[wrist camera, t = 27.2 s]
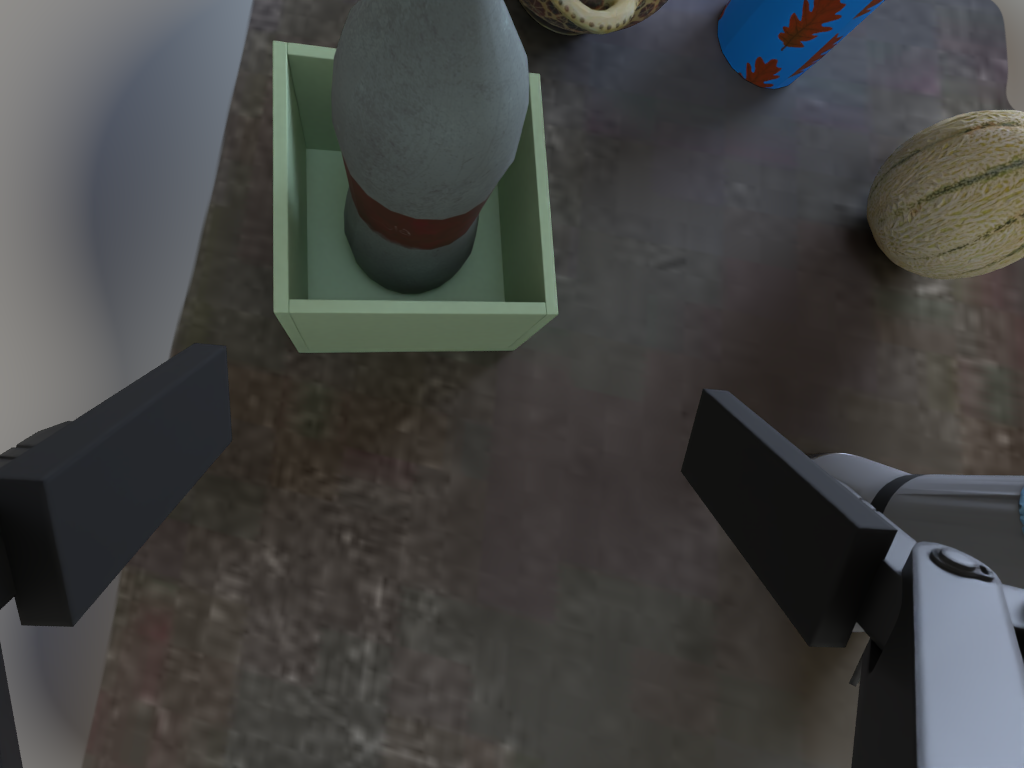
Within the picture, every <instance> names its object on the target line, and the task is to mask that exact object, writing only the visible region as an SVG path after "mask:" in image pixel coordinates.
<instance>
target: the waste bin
mask: <svg viewBox="0 0 1024 768" xmlns="http://www.w3.org/2000/svg"><path fill="white" fill-rule="evenodd" d="M335 52H336V48H328V47H320V46H312V45H304V44H296V43H286V42H280V41H273V312H274V314H275V315H276V317H277V318H278V320H279V322H280V323H281V325H282V326H283V328H284V330H285V331H286V333H287V334H288V336H289V338H290V339H291V341H292V342H293V344H294V346H295V347H296V349H297V350H298V352H299V353H337V352H429V351H514V350H515V349H516V348H518V347H519V346H520V345H521V344H523V343H524V342H525V341H526V340H528V339H529V338H530V337H531V336H532V335H534V334H535V333H536V332H537V331H539V330H540V329H541V328H542V327H543V326H545V325H546V324H547V323H548V322H550V321H551V320H552V319H553V318H554V317H556V316H557V315H558V304H557V291H556V278H555V265H554V252H553V239H552V226H551V213H550V200H549V187H548V174H547V161H546V148H545V135H544V122H543V109H542V96H541V83H540V74H535V73H529V104H528V108H527V112H526V116H525V120H524V124H523V128H522V132H521V136H520V140H519V144H518V147H517V151H516V155H515V159H514V161H513V162H512V164H511V165H510V166H509V168H508V169H507V171H506V172H505V173H504V175H503V176H502V178H501V179H500V180H499V182H498V183H497V185H496V186H495V188H494V190H493V191H492V193H491V195H490V196H489V198H488V200H487V201H486V203H485V205H484V206H483V208H482V209H481V211H480V213H479V221H478V227H477V233H476V237H475V241H474V245H473V248H472V252H471V254H470V256H469V257H468V258H467V260H466V261H465V263H464V264H463V265H462V267H461V268H460V269H459V271H458V272H457V273H456V274H455V275H454V276H453V277H452V278H451V279H450V280H448V281H447V282H445V283H444V284H443V285H441V286H440V287H438V288H435V289H432V290H429V291H426V292H423V293H419V294H402V293H398V292H395V291H391V290H388V289H386V288H384V287H383V286H381V285H380V284H378V283H376V282H375V281H373V280H372V279H371V278H369V277H368V276H367V274H366V273H365V272H364V271H363V270H362V268H361V267H360V266H359V265H358V264H357V262H356V260H355V257H354V255H353V252H352V250H351V248H350V245H349V242H348V240H347V237H346V235H345V232H344V208H345V202H346V196H347V192H348V188H349V183H348V179H347V174H346V170H345V166H344V161H343V157H342V153H341V149H340V146H339V142H338V139H337V136H336V133H335V130H334V126H333V123H332V105H331V89H332V75H333V62H334V55H335Z"/></svg>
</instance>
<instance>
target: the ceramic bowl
mask: <svg viewBox="0 0 1024 768" xmlns="http://www.w3.org/2000/svg"><path fill="white" fill-rule="evenodd" d="M519 1H520V2H521V4H522V5H523V7H524V8H525V9H526V11H527V12H528V13H529V14H530V16H531V17H532V18H533V19H534V20H536V21H537V22H538V23H539V24H541V25H542V26H543V27H545V28H547V29H549V30H552V31H554V32H556V33H560V34H565V35H578V34H583V33H588V34H607V33H610V32H614V31H618V30H622V29H625V28H628V27H631V26H633V25H635V24H637V23H639V22H641V21H643V20H645V19H646V18H648V17H649V16H651V15H652V14H654V13H655V12H656V11H658V10H659V9H660V8H661V7H662V6H663V5H664V4H665V3H666V2H667V1H668V0H519Z"/></svg>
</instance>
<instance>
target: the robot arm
mask: <svg viewBox="0 0 1024 768" xmlns="http://www.w3.org/2000/svg"><path fill="white" fill-rule="evenodd" d="M231 441H232V431H231V415H230V400H229V384H228V368H227V352H226V346H222V345H210V344H199V343H194V344H193V345H191V346H189V347H188V348H186V349H185V350H183V351H182V352H180V353H179V354H177V355H175V356H174V357H172V358H171V359H169V360H168V361H166V362H165V363H163V364H161V365H160V366H158V367H157V368H155V369H154V370H152V371H150V372H149V373H147V374H146V375H144V376H143V377H141V378H140V379H138V380H136V381H135V382H133V383H132V384H130V385H129V386H127V387H126V388H124V389H123V390H121V391H119V392H118V393H116V394H115V395H113V396H112V397H110V398H108V399H107V400H105V401H104V402H102V403H101V404H99V405H98V406H96V407H95V408H93V409H91V410H90V411H88V412H87V413H85V414H83V415H82V416H80V417H79V418H78V419H76V420H74V421H67V422H64V423H61V424H58V425H55V426H53V427H50V428H47V429H44V430H41V431H38V432H37V433H35V434H34V435H32V436H30V437H29V438H27V439H25V440H24V441H22V442H20V443H19V444H17V446H16V448H11V449H9V450H7V451H6V452H4V453H3V454H1V455H0V609H1V608H2V607H4V606H5V605H6V604H7V603H8V602H9V601H10V600H11V599H12V598H13V597H15V601H16V605H17V609H18V613H19V617H20V621H21V625H33V626H70V627H73V626H74V625H75V624H76V623H77V621H78V620H79V619H80V618H81V617H82V615H83V614H84V613H85V612H86V611H87V610H88V608H89V607H90V606H91V605H92V604H93V603H94V602H95V600H96V599H97V598H98V597H99V595H101V593H102V592H103V591H104V590H105V589H106V587H107V586H108V585H109V584H110V583H111V581H112V580H113V579H114V578H115V577H116V576H117V575H118V573H119V572H120V571H121V570H122V569H123V568H124V566H125V565H126V564H127V563H128V562H129V561H130V559H131V558H132V557H133V556H134V555H135V554H136V552H137V551H138V550H139V549H140V548H141V547H142V545H143V544H144V543H145V542H146V541H147V540H148V538H149V537H150V536H151V535H152V534H153V532H154V531H155V530H156V529H157V528H158V527H159V525H160V524H161V523H162V522H163V521H164V520H165V518H166V517H167V516H168V515H169V514H170V513H171V511H172V510H173V509H174V508H175V507H176V506H177V504H178V503H179V502H180V501H181V500H182V499H183V497H184V496H185V495H186V494H187V493H188V492H189V490H190V489H191V488H192V487H193V486H194V485H195V483H196V482H197V481H198V480H199V479H200V477H201V476H202V475H203V474H204V473H205V472H206V470H207V469H208V468H209V467H210V466H211V465H212V463H213V462H214V461H215V460H216V459H217V458H218V456H219V455H220V454H221V453H222V452H223V451H224V449H225V448H226V447H227V446H228V445H229V444H230V442H231ZM681 472H682V474H683V475H684V476H685V478H686V479H687V480H688V482H689V483H690V485H691V486H692V487H693V489H694V490H695V491H696V493H697V494H698V495H699V497H700V498H701V500H702V501H703V502H704V504H705V505H706V506H707V508H708V509H709V510H710V512H711V513H712V515H713V516H714V517H715V519H716V520H717V521H718V523H719V524H720V525H721V527H722V528H723V530H724V531H725V532H726V534H727V535H728V536H729V538H730V539H731V540H732V542H733V543H734V545H735V546H736V547H737V549H738V550H739V551H740V553H741V554H742V555H743V557H744V558H745V560H746V561H747V562H748V564H749V565H750V566H751V568H752V569H753V570H754V572H755V573H756V575H757V576H758V577H759V579H760V580H761V581H762V583H763V584H764V585H765V587H766V588H767V590H768V591H769V592H770V594H771V595H772V596H773V598H774V599H775V600H776V602H777V603H778V605H779V606H780V607H781V609H782V610H783V611H784V613H785V614H786V615H787V617H788V618H789V620H790V621H791V622H792V624H793V625H794V626H795V628H796V629H797V630H798V632H799V633H800V635H801V636H802V637H803V639H804V640H805V641H806V643H807V644H808V645H809V646H810V647H846V644H847V642H848V640H849V638H850V635H851V633H852V632H866V633H867V634H868V635H869V637H870V640H869V642H868V644H867V646H866V648H865V650H864V652H863V655H862V657H861V659H860V661H859V663H858V665H857V667H856V670H855V672H854V674H853V676H852V678H851V680H850V682H849V684H851V685H853V686H855V687H856V685H857V684H858V682H859V681H860V687H859V697H858V707H857V717H856V727H855V737H854V747H853V757H852V767H851V768H1024V476H987V475H934V474H932V475H918V474H909V473H906V472H903V471H900V470H897V469H894V468H892V467H889V466H886V465H883V464H880V463H877V462H874V461H871V460H869V459H866V458H863V457H860V456H856V455H851V454H846V453H820V454H813V455H809V456H807V455H805V454H804V453H803V452H802V451H801V450H799V449H798V448H797V447H796V446H794V445H793V444H792V443H791V442H790V441H788V440H787V439H786V438H785V437H784V436H782V435H781V434H780V433H779V432H777V431H776V430H775V429H774V428H773V427H771V426H770V425H769V424H768V423H766V422H765V421H764V420H763V419H762V418H760V417H759V416H758V415H757V414H755V413H754V412H753V411H752V410H751V409H749V408H748V407H747V406H746V405H745V404H743V403H742V402H741V401H740V400H738V399H737V398H736V397H735V396H734V395H732V394H731V393H730V392H729V391H724V390H713V389H703V391H702V395H701V399H700V402H699V406H698V410H697V413H696V417H695V421H694V425H693V428H692V432H691V436H690V439H689V443H688V447H687V451H686V454H685V458H684V462H683V465H682V469H681ZM0 768H23V767H22V761H21V756H20V750H19V745H18V739H17V733H16V727H15V722H14V716H13V711H12V705H11V700H10V694H9V689H8V683H7V678H6V672H5V666H4V660H3V655H2V649H1V644H0Z"/></svg>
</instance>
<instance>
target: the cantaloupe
mask: <svg viewBox="0 0 1024 768" xmlns="http://www.w3.org/2000/svg"><path fill="white" fill-rule="evenodd" d="M867 220H868V223H869V226H870V228H871V231H872V234H873V237H874V239H875V241H876V243H877V245H878V247H879V248H880V249H881V250H882V251H883V252H884V254H885V255H886V256H887V257H888V258H889V259H890V260H891V261H892V262H893V263H895V264H896V265H898V266H900V267H901V268H903V269H905V270H907V271H909V272H911V273H915V274H918V275H920V276H923V277H928V278H934V279H935V278H936V279H958V278H965V277H973V276H977V275H982V274H985V273H990V272H992V271H994V270H997V269H1000V268H1004V267H1005V266H1007V265H1009V264H1011V263H1013V262H1015V261H1018V260H1020V259H1021V258H1023V257H1024V112H1021V111H1014V110H988V111H977V112H970V113H967V114H961V115H956V116H955V117H952V118H948V119H944V120H942V121H940V122H938V123H936V124H934V125H932V126H930V127H928V128H926V129H924V130H922V131H921V132H919V133H917V134H916V135H914V136H913V137H912V138H910V139H909V140H907V141H906V142H905V143H903V144H902V145H901V146H900V147H898V148H897V149H896V150H895V151H894V152H893V154H892V155H891V156H890V157H889V158H888V159H887V160H886V162H885V163H884V164H883V166H882V167H881V168H880V170H879V172H878V174H877V176H876V177H875V180H874V182H873V184H872V187H871V189H870V194H869V197H868V205H867Z"/></svg>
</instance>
